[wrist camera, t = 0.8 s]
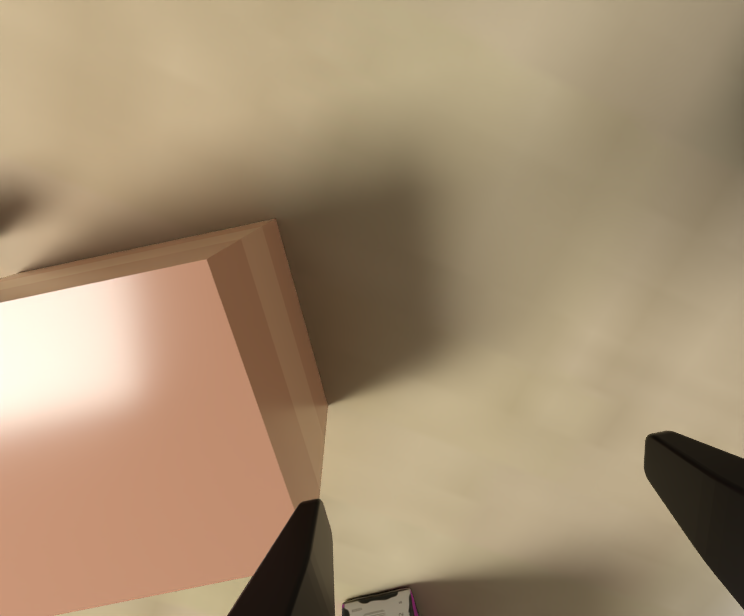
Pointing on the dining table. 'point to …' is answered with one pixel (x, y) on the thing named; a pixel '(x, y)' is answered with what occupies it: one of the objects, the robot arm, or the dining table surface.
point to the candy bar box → (382, 604)
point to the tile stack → (152, 420)
